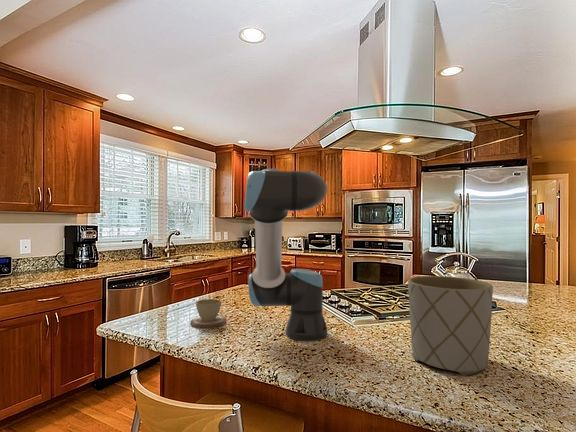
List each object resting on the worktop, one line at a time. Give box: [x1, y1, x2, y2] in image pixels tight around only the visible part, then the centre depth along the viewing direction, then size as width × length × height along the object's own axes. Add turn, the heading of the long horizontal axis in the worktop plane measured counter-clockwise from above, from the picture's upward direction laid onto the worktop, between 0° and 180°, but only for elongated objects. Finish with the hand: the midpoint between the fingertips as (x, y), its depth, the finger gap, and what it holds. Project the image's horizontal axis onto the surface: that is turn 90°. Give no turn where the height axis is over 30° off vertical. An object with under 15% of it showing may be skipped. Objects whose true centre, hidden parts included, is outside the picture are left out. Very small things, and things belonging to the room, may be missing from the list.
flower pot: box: [195, 298, 222, 321], centre depth 139 cm, size 10×10×7 cm
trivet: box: [190, 315, 227, 329], centre depth 139 cm, size 14×14×2 cm
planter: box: [407, 275, 494, 377], centre depth 103 cm, size 23×23×24 cm
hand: (270, 254), depth 148 cm, fingers open, 13 cm apart
